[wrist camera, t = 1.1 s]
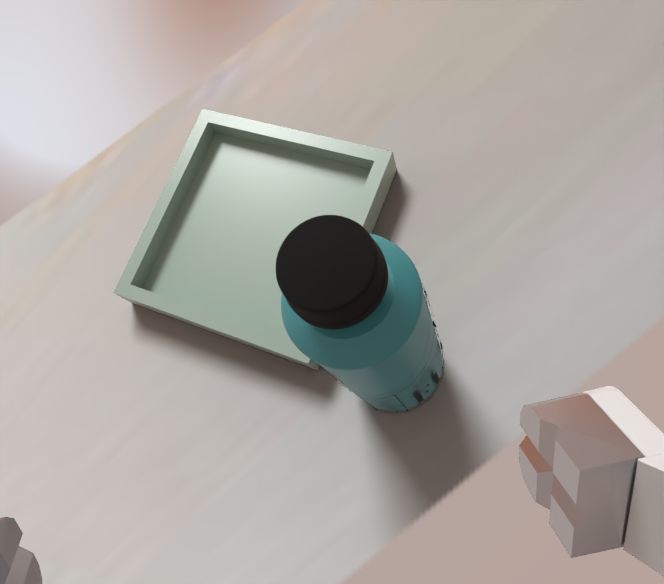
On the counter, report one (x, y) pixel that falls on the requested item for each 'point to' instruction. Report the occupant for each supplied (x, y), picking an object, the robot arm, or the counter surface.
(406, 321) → the beverage bottle
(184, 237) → the tray
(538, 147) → the counter surface
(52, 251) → the counter surface
